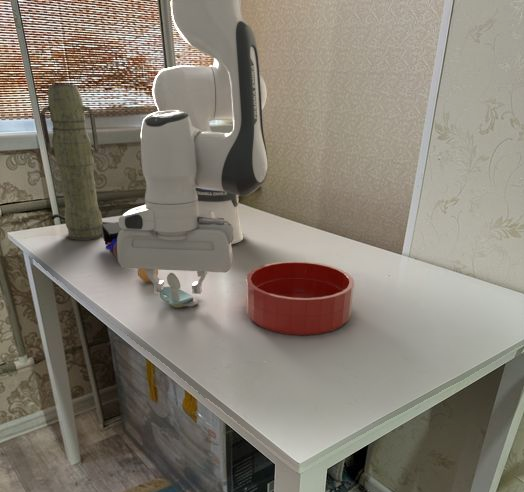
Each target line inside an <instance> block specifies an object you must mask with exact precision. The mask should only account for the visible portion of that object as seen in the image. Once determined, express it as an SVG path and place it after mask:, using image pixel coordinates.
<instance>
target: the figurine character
mask: <svg viewBox="0 0 524 492" xmlns="http://www.w3.org/2000/svg"><path fill="white" fill-rule="evenodd" d="M121 230H122V229H121V228H120V226H119V221H115V222H114V223H107V224H102V227H101V232H102V236H101V237H102V239H103V241H104V245H105V249H106V250H109V251H111V252H113V254H114V256H115V258H117V259H118V257H117V237H118V234H119V232H120V231H121Z"/></svg>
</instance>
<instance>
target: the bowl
mask: <svg viewBox="0 0 524 492" xmlns="http://www.w3.org/2000/svg"><path fill="white" fill-rule="evenodd" d="M354 287H355V282H354V278H353V277H352V275H350V274H349V273H348V272H346V271H345V270H343V269H340V268H338V267H335V266H332V265H330V264H329V265H328V264H324V263H319V262H311V261H297V260H296V261H295V260H294V261H291V260H290V261H278V262H272V263H271V262H270V263H267V264H263V265H259V266H258V267H256V268H254V269H252V270H251V271H249V272H248V273H247V274H246V278H245V312H246V314H247V317H249V318H250V319H251V320H252V321H253V322H254V323H255V324H256V325H258V326H259V327H261V328H263V329H265V330H267V331H268V330H269V331H271V332H275V333H279V334H284V335H292V336H313V335H320V334H325V333H330V332H333V331H336V330H337V329H339V328H341V327H342V326H344V324H345V323H347V322H348V321H349V320H350V318H351V315H352V309H353V307H352V306H353V298H354V289H355V288H354Z"/></svg>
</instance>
